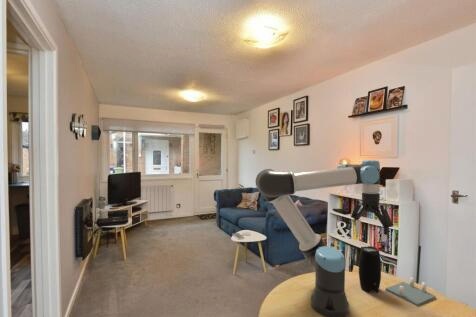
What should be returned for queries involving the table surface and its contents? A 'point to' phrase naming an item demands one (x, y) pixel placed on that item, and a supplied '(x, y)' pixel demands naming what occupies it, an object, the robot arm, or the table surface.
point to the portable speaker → (369, 269)
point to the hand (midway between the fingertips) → (370, 236)
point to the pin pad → (411, 292)
